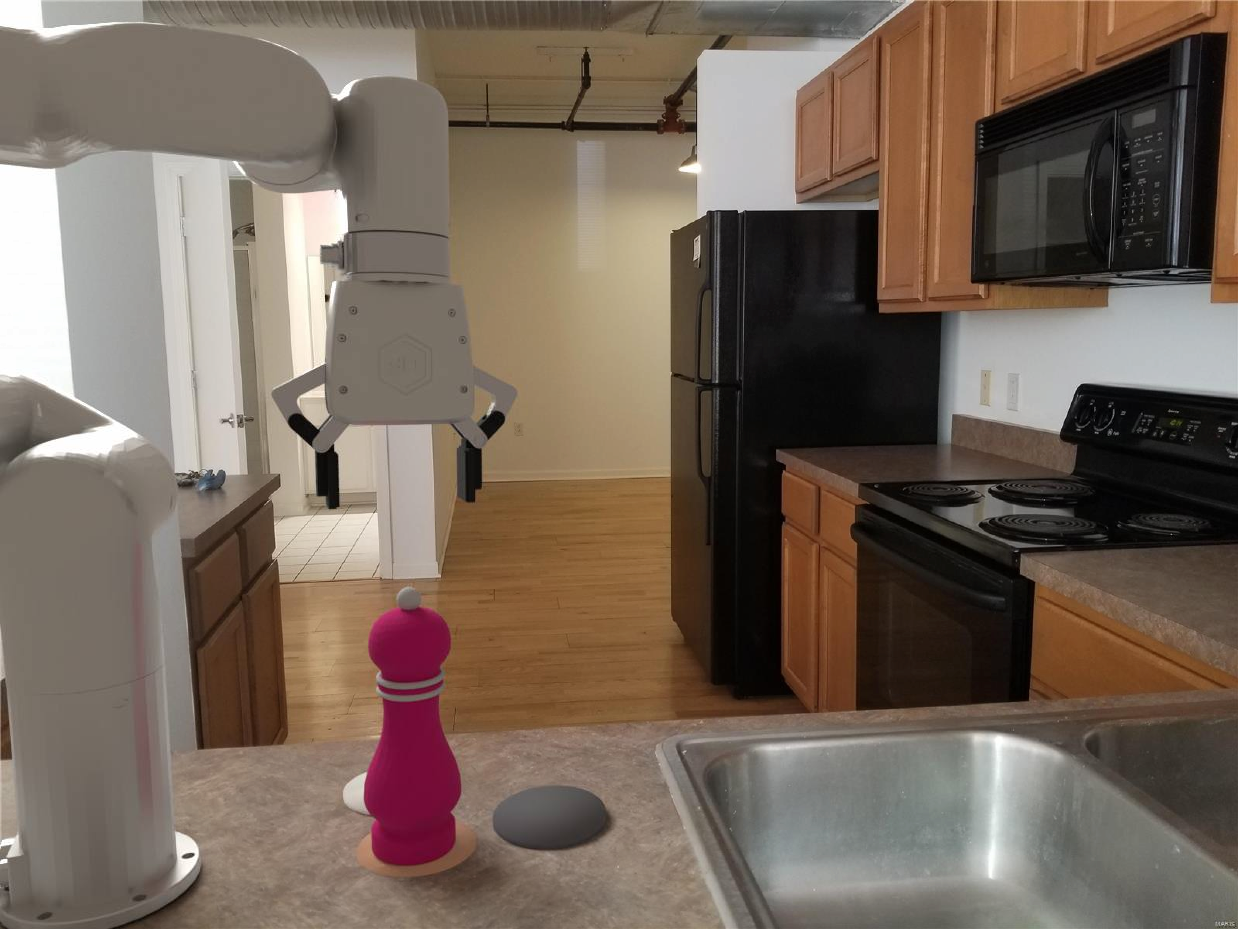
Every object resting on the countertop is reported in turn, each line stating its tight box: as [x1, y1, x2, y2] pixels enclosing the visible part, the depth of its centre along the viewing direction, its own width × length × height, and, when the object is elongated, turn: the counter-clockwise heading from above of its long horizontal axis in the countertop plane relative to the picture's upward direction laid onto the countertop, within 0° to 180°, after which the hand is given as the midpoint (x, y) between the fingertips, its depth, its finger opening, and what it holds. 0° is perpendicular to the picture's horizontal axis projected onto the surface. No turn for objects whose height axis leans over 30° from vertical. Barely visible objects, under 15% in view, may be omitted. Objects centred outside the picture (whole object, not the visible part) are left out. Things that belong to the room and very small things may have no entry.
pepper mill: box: [363, 586, 462, 865], centre depth 72 cm, size 7×7×20 cm
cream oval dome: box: [342, 771, 371, 816], centre depth 82 cm, size 9×9×1 cm
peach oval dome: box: [356, 819, 478, 878], centre depth 73 cm, size 9×9×1 cm
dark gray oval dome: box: [492, 785, 607, 850], centre depth 77 cm, size 9×9×1 cm
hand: (401, 503), depth 70 cm, fingers open, 9 cm apart
